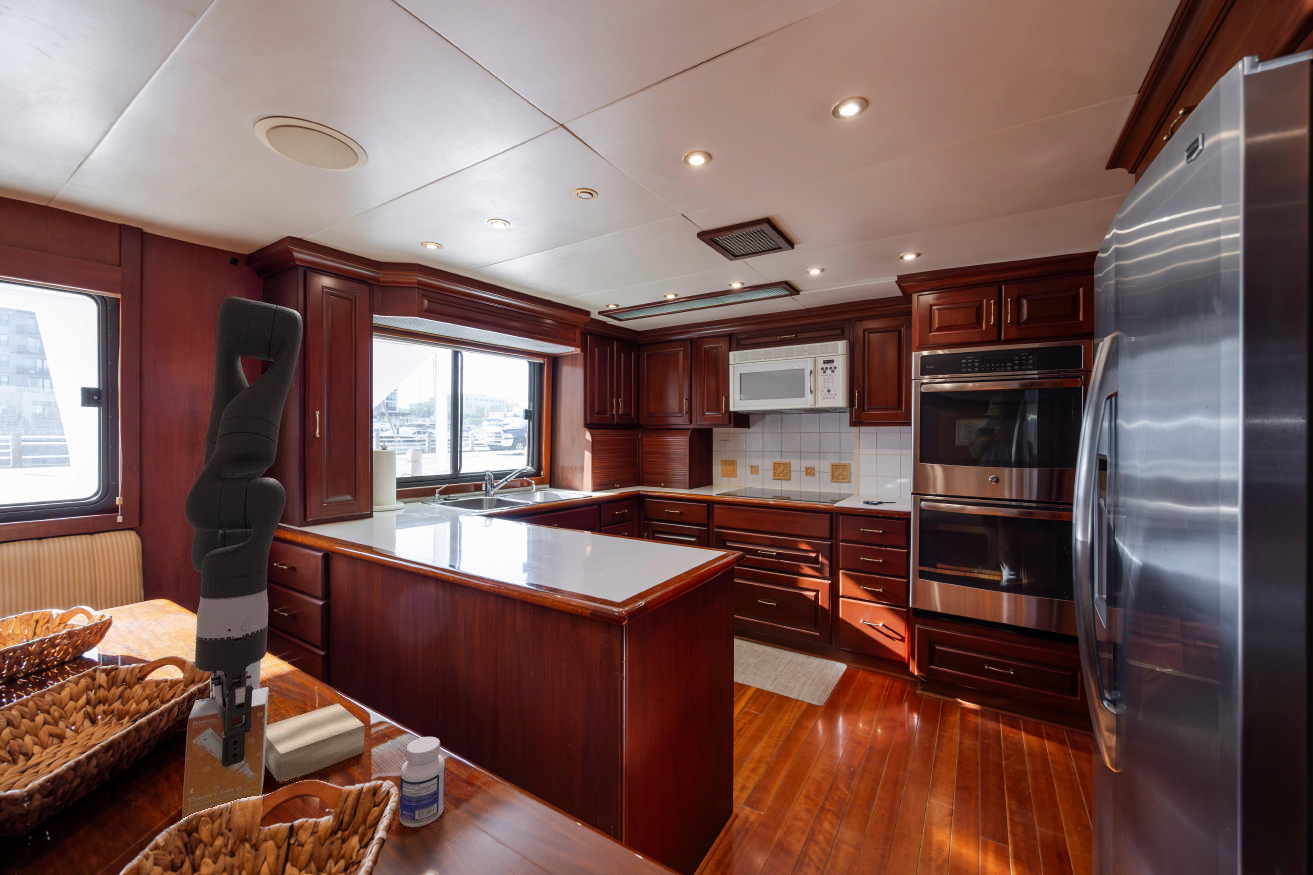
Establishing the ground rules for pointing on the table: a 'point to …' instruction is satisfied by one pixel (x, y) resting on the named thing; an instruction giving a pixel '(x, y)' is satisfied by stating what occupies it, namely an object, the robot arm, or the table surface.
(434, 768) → the pill bottle
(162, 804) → the table surface
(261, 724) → the small box
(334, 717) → the birch block
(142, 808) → the table surface
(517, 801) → the table surface
